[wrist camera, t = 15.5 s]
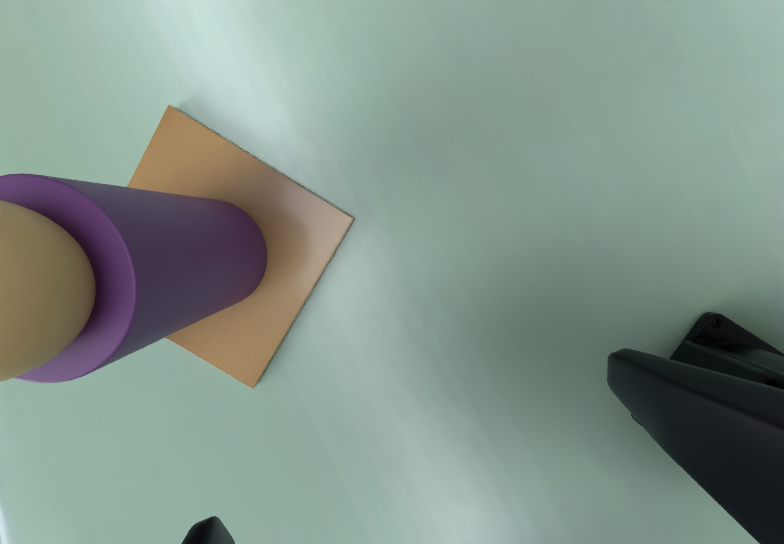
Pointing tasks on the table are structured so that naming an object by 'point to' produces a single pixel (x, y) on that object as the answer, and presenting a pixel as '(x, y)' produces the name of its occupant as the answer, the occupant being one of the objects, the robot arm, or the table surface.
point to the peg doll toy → (111, 271)
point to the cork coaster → (277, 224)
